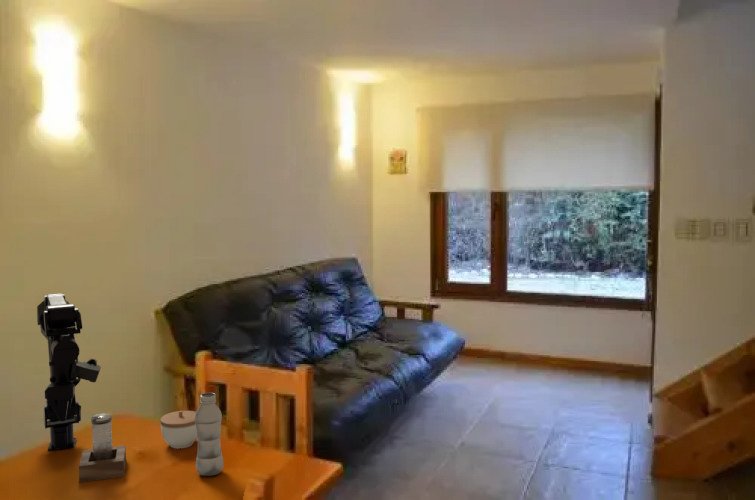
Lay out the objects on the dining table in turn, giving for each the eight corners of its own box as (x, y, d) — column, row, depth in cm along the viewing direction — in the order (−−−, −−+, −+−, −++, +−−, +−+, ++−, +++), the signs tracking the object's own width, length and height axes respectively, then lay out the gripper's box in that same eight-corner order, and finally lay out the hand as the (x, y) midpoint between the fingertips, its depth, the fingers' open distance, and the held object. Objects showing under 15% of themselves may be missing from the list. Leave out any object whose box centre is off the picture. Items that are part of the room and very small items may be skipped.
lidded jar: (164, 455, 170) (163, 420, 169) (158, 441, 179) (157, 408, 179) (205, 447, 175) (204, 414, 174) (197, 434, 184) (196, 402, 184)
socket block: (83, 465, 163) (83, 450, 163) (126, 460, 167) (125, 445, 166) (79, 482, 154) (78, 466, 154) (124, 476, 157) (123, 460, 157)
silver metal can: (96, 463, 162) (94, 413, 161) (115, 462, 163) (113, 412, 162) (90, 471, 158) (88, 420, 156) (110, 470, 158) (108, 419, 157)
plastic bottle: (216, 480, 155) (214, 400, 153) (190, 478, 156) (188, 398, 154) (228, 469, 161) (226, 391, 159) (203, 466, 163) (201, 390, 161)
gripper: (94, 361, 155) (96, 424, 157) (100, 343, 173) (103, 400, 174) (42, 365, 152) (46, 429, 153) (55, 347, 169) (57, 404, 171)
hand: (65, 415), depth 163 cm, fingers open, 9 cm apart
